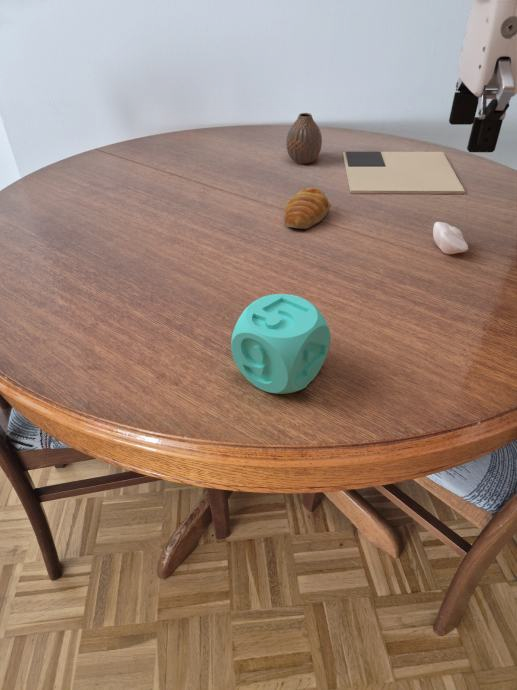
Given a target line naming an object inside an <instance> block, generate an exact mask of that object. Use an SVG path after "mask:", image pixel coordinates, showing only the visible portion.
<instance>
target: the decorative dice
mask: <svg viewBox="0 0 517 690" xmlns="http://www.w3.org/2000/svg"><path fill="white" fill-rule="evenodd" d="M331 338H332V337H331V331H330V328H329V324H328V322H327V320H326V318H325V316H324V315H323V314H322V312H321V311H320V310H319V309H318V308H317V307H316V306H315V305H314V304H313V303H312V302H310V301H309V300H307V299H306V298H303V297H301V296H298V295H294V294H288V293H274V294H268V295H265V296H262V297H259V298H258V299H256V300H254V301H252V302H251V303H249V305H248V306H246V308H245V309H244V310H243V311H242V313H241V314H240V316H239V318H238V319H237V321H236V323H235V325H234V328H233V331H232V335H231V341H230V350H231V355H232V359H233V361H234V363H235V365H236V368H237V369H238V371H239V372H240V373H241V375H242V376H243V377H244V378H245V380H247V381H248V382H249V383H250V384H251V385H253V386H254V387H256V388H257V389H258V390H260V391H264V392H267V393H271V394H277V395H279V394H280V395H286V394H292V393H296V392H299V391H302V390H303V389H306V388H307V387H308V386H309V385H310V384H311V383H312V382H313V380H314V379H315V378H316V376H317V375H318V374H319V372H320V371H321V369H322V367H323V365H324V363H325V360H326V359H327V356H328V353H329V350H330V345H331V344H330V343H331ZM311 381H312V382H311ZM310 382H311V383H310ZM309 383H310V384H309ZM308 384H309V385H308ZM307 385H308V386H307Z"/></svg>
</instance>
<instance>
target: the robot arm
mask: <svg viewBox="0 0 517 690" xmlns="http://www.w3.org/2000/svg"><path fill="white" fill-rule="evenodd" d="M457 69H458V70H457V75H458V79H457V81H456V84H455V92H454V94H453V100H452V103H451V104H452V105H451V109H450V113H449V119H448V123H449V124H450V125H453V126H454V125H455V126H456V125H460V126H461V125H463V126H464V125H465V126H466V125H469V126H471V125H472V126H471V130H470V134H469V139H468V142H467V147H466V150H467V151H468V153H493V152H495V150H496V147H497V144H498V141H499V136H500V133H501V128H502V125H503V121H504V120H505V118H506V114H507V110H508V108H509V107H510V101H511V99H512V98H513V97H515V96H516V95H517V0H473V2H472V5H471V8H470V13H469V16H468V20H467V24H466V28H465V32H464V36H463V41H462V46H461V50H460V55H459V60H458V67H457ZM488 100H490V101H489V103H488V104H487V101H488ZM476 115H477V116H476Z"/></svg>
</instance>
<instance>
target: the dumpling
mask: <svg viewBox="0 0 517 690" xmlns="http://www.w3.org/2000/svg"><path fill="white" fill-rule="evenodd" d="M432 236H433V241H434V243H435V245H436V246H437V247H438V248H439V249H440V250H441V253H443V254H446V255H455V254H459V253H464V252H465V253H466V252H467V251H468V250H469V245H468V243H467V242H466V241H465V239H464V235H463V232H462V231H461V229H460V228H458V227H456V226H453V225H450V224H449V223H447V222H443V221H436V222H434V224H433V226H432Z"/></svg>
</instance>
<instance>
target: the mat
mask: <svg viewBox="0 0 517 690" xmlns="http://www.w3.org/2000/svg"><path fill="white" fill-rule="evenodd" d="M447 158H448V157H446V155H445V153H444V151H342V159H343V163H344V164H343V165H344V168H345V169H344V170H345V173H346V178H347V184H348V189H349V193H350V194H353V195H354V194H355V195H357V194H358V195H359V194H361V195H362V194H363V195H364V194H367V195H368V194H370V195H371V194H373V195H375V194H376V195H377V194H380V195H381V194H382V195H383V194H384V195H386V194H387V195H392V194H393V195H397V194H398V195H465V193H466V190H465V189H464V187H463V185H462V183H461V181H460V180H459V178H458V176H457V174H456V172H455V171H454V169H453V168H452V166H451V164H450V162H449V160H448V159H447Z"/></svg>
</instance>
